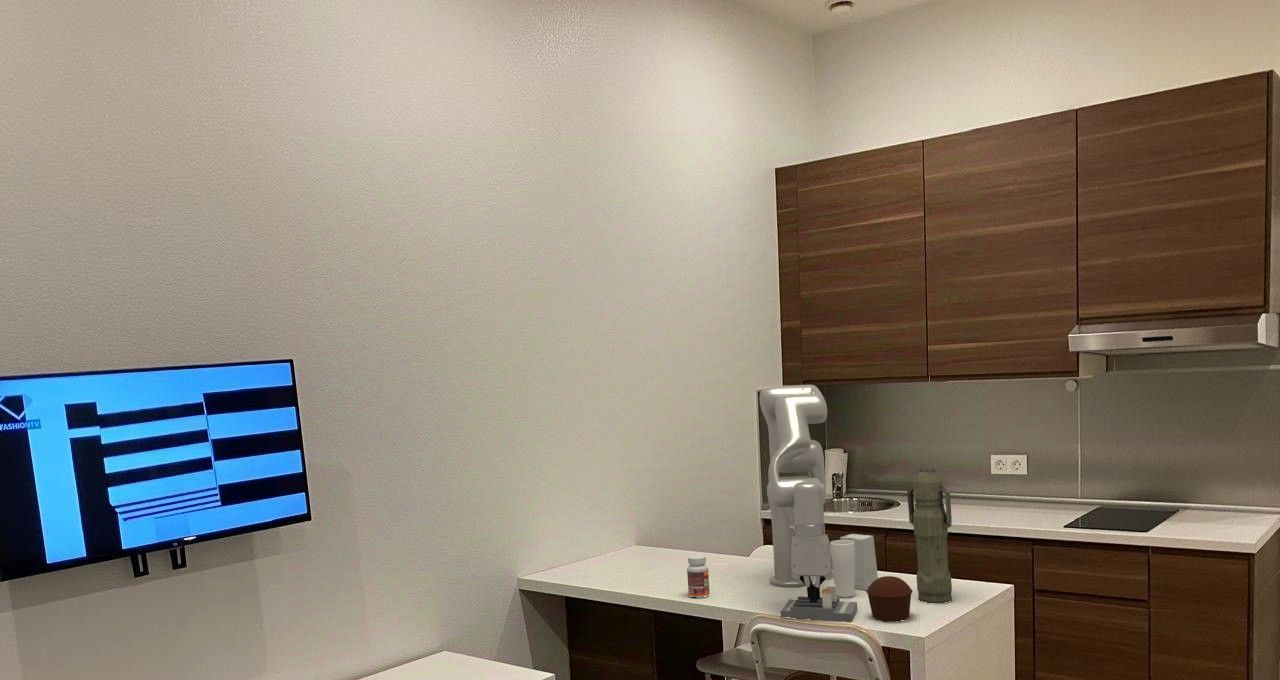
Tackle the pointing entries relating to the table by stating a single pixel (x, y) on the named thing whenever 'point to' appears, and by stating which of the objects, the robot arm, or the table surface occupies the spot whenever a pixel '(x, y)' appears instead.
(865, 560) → the skincare box
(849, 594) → the drinking glass
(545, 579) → the table surface
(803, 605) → the grey ridged tray
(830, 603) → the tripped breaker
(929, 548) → the green vase with handles
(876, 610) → the muffin
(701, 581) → the pill bottle
